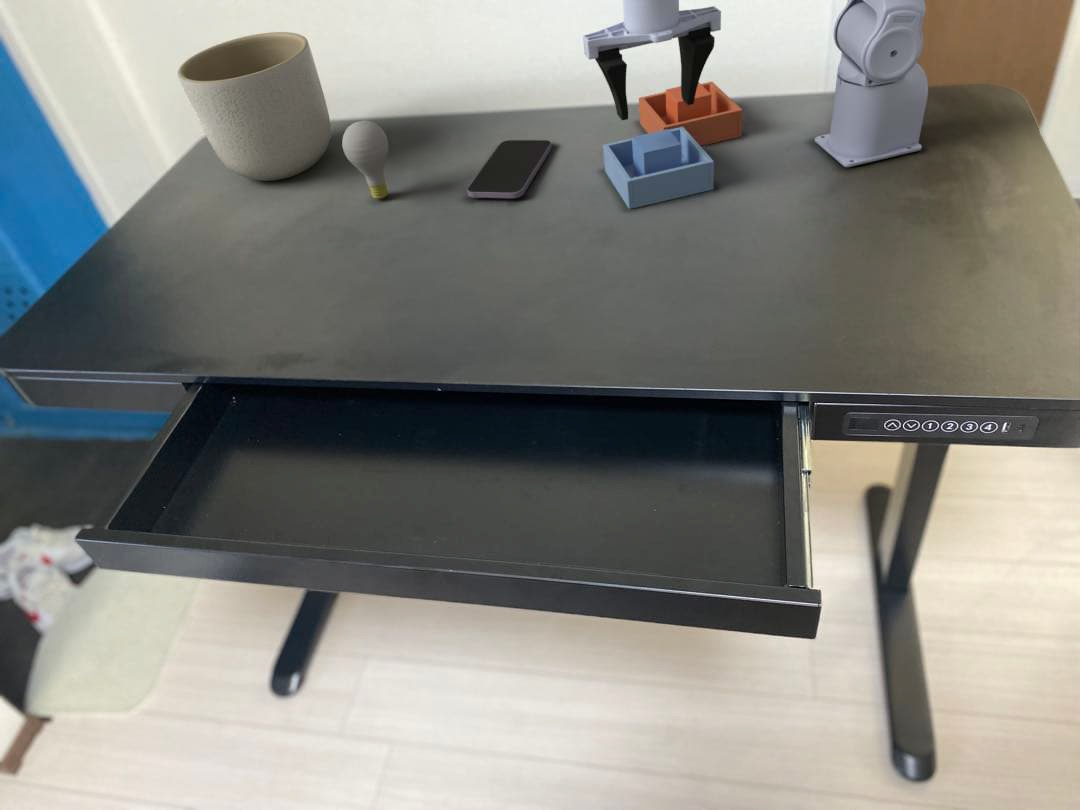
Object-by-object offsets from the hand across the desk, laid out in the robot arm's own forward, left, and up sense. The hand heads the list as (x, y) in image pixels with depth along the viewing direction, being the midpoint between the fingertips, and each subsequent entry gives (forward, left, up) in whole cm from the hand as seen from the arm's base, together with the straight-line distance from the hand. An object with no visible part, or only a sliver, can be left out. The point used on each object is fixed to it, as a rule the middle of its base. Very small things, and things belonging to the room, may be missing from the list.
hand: (655, 109), depth 89 cm
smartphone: (+16, -11, -9) cm, 21 cm away
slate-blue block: (0, 0, -8) cm, 8 cm away
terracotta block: (-8, -11, -8) cm, 16 cm away
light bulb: (+33, -12, -9) cm, 36 cm away
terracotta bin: (-8, -11, -9) cm, 16 cm away
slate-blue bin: (0, 0, -9) cm, 9 cm away
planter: (+46, -29, -9) cm, 55 cm away
